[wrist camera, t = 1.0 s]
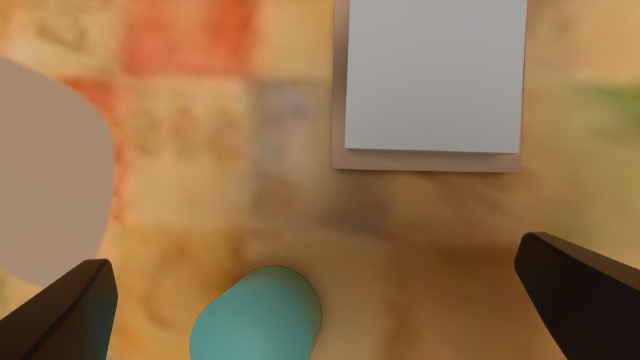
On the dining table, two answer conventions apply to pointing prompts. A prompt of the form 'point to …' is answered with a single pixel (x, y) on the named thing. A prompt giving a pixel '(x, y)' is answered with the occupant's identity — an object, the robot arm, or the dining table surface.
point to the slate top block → (435, 76)
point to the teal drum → (260, 319)
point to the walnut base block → (397, 160)
